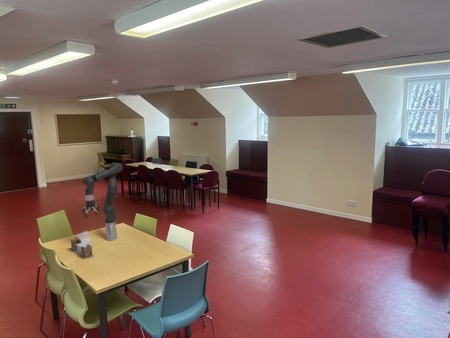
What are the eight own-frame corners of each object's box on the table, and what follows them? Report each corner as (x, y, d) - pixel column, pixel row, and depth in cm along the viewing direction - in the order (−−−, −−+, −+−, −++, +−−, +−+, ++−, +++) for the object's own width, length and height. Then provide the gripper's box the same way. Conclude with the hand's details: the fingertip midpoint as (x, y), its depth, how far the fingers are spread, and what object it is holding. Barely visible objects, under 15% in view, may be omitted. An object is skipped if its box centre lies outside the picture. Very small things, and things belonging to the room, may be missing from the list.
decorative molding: (81, 250, 294) (92, 245, 298) (79, 246, 292) (90, 241, 297) (78, 239, 323) (88, 234, 328) (76, 235, 322) (86, 230, 326)
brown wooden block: (79, 247, 294) (78, 238, 292) (93, 256, 274) (92, 246, 272) (70, 250, 288) (69, 240, 287) (84, 259, 268) (83, 248, 267)
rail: (79, 248, 290) (78, 241, 289) (89, 254, 275) (89, 248, 274) (74, 249, 287) (74, 242, 286) (84, 256, 272) (84, 249, 271)
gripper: (95, 197, 297) (97, 214, 300) (80, 200, 287) (81, 217, 290) (99, 198, 292) (100, 215, 295) (83, 201, 282) (85, 219, 284)
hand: (91, 216), depth 292 cm, fingers open, 8 cm apart
